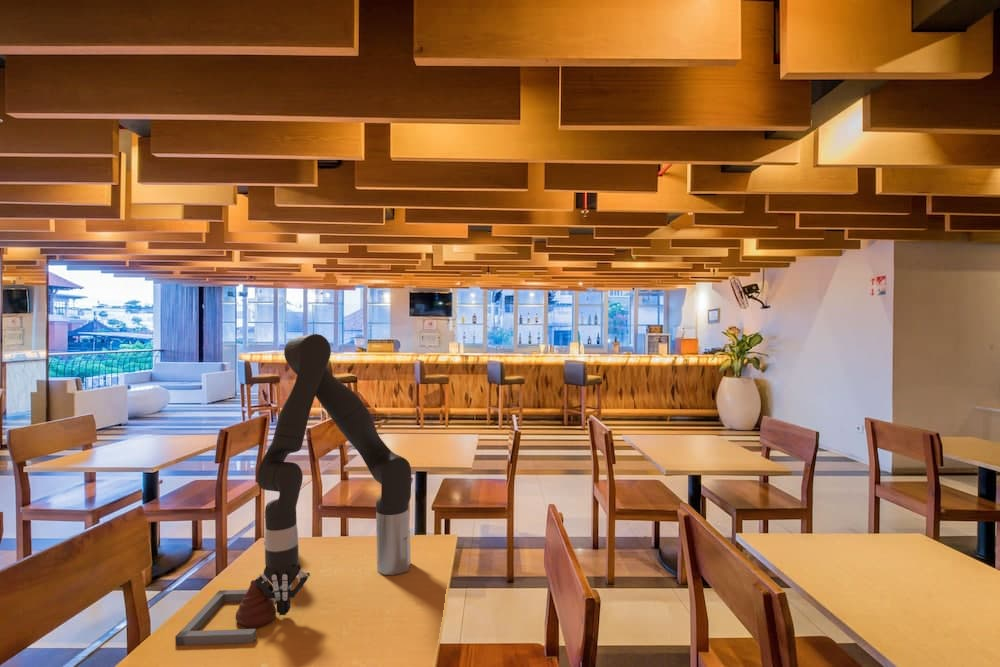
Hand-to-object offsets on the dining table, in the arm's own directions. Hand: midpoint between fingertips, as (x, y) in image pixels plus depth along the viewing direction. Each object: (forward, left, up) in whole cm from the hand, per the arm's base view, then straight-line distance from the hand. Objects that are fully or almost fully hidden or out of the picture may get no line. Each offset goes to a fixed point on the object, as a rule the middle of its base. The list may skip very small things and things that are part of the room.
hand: (283, 613), depth 129 cm
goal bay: (+11, 0, -1) cm, 11 cm away
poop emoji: (+6, 0, -1) cm, 7 cm away
